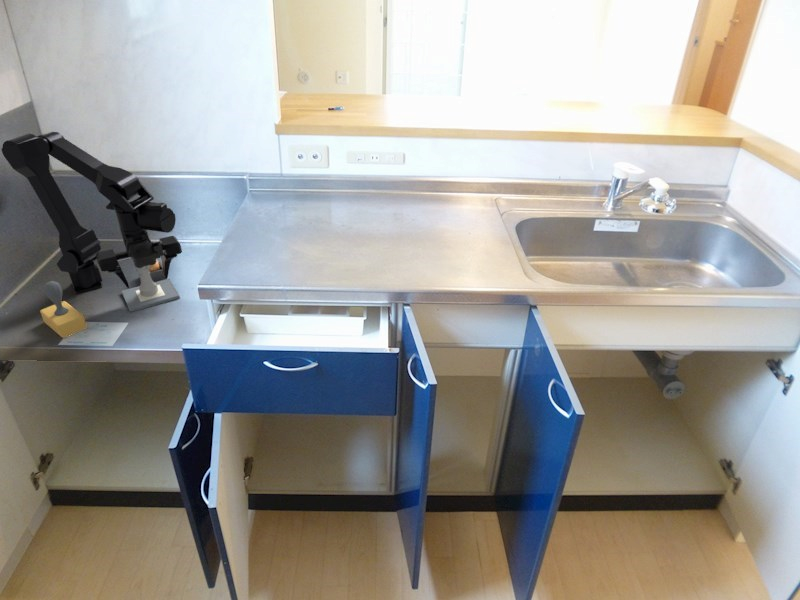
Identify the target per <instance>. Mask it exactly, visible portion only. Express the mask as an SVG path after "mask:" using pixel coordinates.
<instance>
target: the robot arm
mask: <svg viewBox="0 0 800 600" xmlns="http://www.w3.org/2000/svg"><path fill="white" fill-rule="evenodd" d="M0 149H1V153H2V155H3V157H4V159H5V160H6V161H7V162H8V163H9V165H10V166H11V167H12V169H13V170H14V171H16V172H17V173H19V174H21V175H22V176H23V177H25V178H26V179H27V181H28V183H30V185H31V187H32V189H33V190H34V192H35V194H36V196H37V197H38V200H39V201H40V202H41V204H42V206H43V207H44V208H43V209H45V211H46V213H47V214H48V216H49V218H50V219H51V221H52V224H53V225H54V226H55V229H57V231H58V235H59V237H58V238H59V239H58V246H59V249H60V252H61V254H62V255H61V257H60V259H59V260H58V261H57V262H56V265H57V268H58V269H59V270H60V271H61V272H65V273H68V276H69V278H70V281H71V285H72V289H73V292H74V294H79V293H83V292H87V291H92V290H95V289H99V288H102V287H103V285H102V282H103V278H102V275H101V272H108V273H109V274H110V273H113V274H115V275H116V276H117V277H119V278H120V279H119V280H121V282H122V283H123V284H124V285H125V288H126V289H130V285H129V282H128V280H127V278H126V276H125V273H124V271H123V269H122V268H121V265H120V263H119V262H121V261H126V260H130V259H132V261H133V265H134V267H135V268H136V269H137V268H142V267H144V266H148V265H154V264H156V260H158V259H161V264H162V266H163V272H164V276H165V278H166V279H169V278H168V276H169V270H170V266H171V262H172V260H173V259H174V258H177V257H178V255H179V254H182V253H183V249H182V245H181V243H180V242H179V240H178V238H177V237H176V236H174V235H169V236H165V237H160V238H158V241H155V242H154V241H152V240H151V239H150V237H149V231H151V232H159V233H167V234H168V233H171V232H172V231H173V230H174V228H175V225H176V220H177V219H176V214H175V212H174V211H173V210H172V209H171V208H170V207H168V206H167V203H166V202H154V201H153V200H154V199H155V198H154V196H153V195H152V194H151V193H150V191H149V190H148V189H147V188H146V187H145V186H144V184H143V183H142V182H141V181H140V179H139V178H138V177H137V176H136V174H135V173H132V172H130V171H128V170H125V169H124V168H121V167H117V166H112V165H108V164H106V163H104V162H102V161H101V160H100V159H98V158H96V157H95V156H93V155H91V154H89V153H88V152H87V151H85V150H83V149H82V148H81V147H79V146H78V145H75V144H74V143H72V142H71V141H70V140H68V139H66V138H65V137H64V135H63V134H61V133H60V132H58V131H50V132H48V133H43V134H39V135H35V134H33V133H25V134H22V135H19V136H16V137H14V138H10V139H7V140H6V141H4V142H3V143H2V148H0ZM50 156H51V157H52V158H54V160H57V161H59V162H60V163H62V164H63V165H65V166H66V167H68V168H70V169H72V170H73V171H74V172H76V173H77V174H79V175H81V176H83V177H84V178H86V179H88V180H89V181H90V182H92V183H93V184H94V185H95V186H96V189H97V190H98V192H99V193H100V194H101V195H102V196H103V197H105V198H106V199H107V200H108V201H109V203H108V204H107V205H105V208H106V210H112V211H114V212H115V216H116V218H117V222H118V227H119V229H120V234H121V239H122V241H123V245H124V249H125V251H122V252H118V253H116V252H114V248H111V249H105V250H103V251H101V250H102V248H101V247H102V246H101V241H100V240H99V239H98V237H97V235H96V233H95V231H94V230H93V228H91V229H87V228H85V227H83V225H81V224H80V223H79V221H78V219H77V218H76V215H75V214H74V212H73V209H72V208H71V207H70V205H69V203H68V201H67V199H66V198H65V196H64V194H63V192H62V191H61V189H60V187H59V185H58V183H57V182H56V179H55V178H54V176H53V175H52V173H51V171H50ZM137 196H139V197H137ZM135 197H137V198H135ZM133 198H135V199H133ZM132 199H133V200H132ZM152 201H153V202H152ZM95 261H97V263H96V264H95ZM99 268H100V269H99ZM100 271H101V272H100Z"/></svg>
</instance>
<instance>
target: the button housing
mask: <svg viewBox="0 0 800 600" xmlns="http://www.w3.org/2000/svg"><path fill="white" fill-rule="evenodd" d="M158 263H159V267H160V270H158V271H154V272H150V276H151V278H152V281H153V282H158V281H162V280H165V279H166V278H165V276H164V272H163V266H162V261H158Z"/></svg>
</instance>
